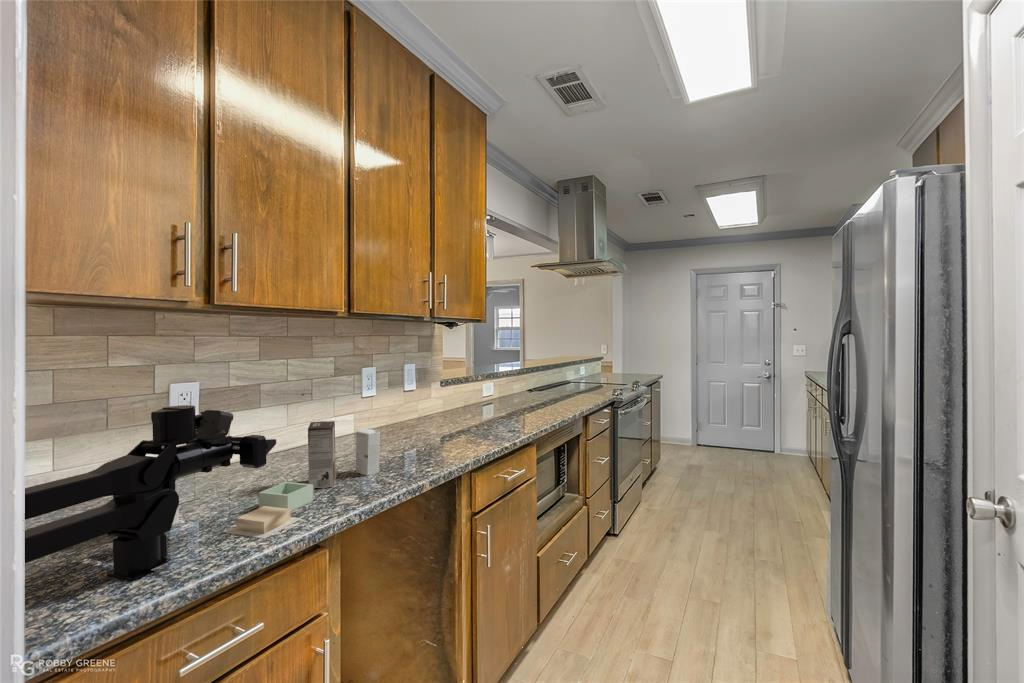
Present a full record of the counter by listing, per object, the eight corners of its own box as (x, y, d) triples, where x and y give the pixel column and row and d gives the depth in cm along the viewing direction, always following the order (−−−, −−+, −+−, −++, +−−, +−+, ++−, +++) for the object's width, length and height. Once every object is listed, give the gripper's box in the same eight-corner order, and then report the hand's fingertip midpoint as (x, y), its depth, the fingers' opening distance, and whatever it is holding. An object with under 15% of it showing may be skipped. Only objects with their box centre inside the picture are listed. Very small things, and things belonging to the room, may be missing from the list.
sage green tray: (287, 516, 102) (287, 495, 102) (259, 512, 104) (258, 492, 104) (313, 503, 109) (313, 484, 109) (286, 500, 112) (285, 481, 112)
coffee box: (311, 479, 128) (310, 421, 127) (336, 477, 130) (335, 420, 129) (307, 490, 119) (306, 428, 119) (334, 487, 121) (333, 426, 121)
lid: (264, 534, 91) (263, 522, 91) (236, 530, 93) (236, 518, 93) (290, 520, 98) (290, 509, 98) (264, 516, 100) (264, 505, 100)
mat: (264, 541, 89) (264, 538, 89) (224, 535, 92) (224, 532, 92) (301, 521, 99) (301, 518, 99) (264, 516, 102) (264, 513, 102)
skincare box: (355, 472, 134) (354, 431, 134) (368, 468, 138) (367, 428, 137) (367, 476, 130) (367, 433, 130) (381, 472, 134) (380, 430, 134)
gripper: (229, 418, 85) (292, 405, 100) (156, 414, 91) (226, 403, 106) (230, 478, 85) (293, 456, 100) (157, 470, 91) (227, 451, 106)
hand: (259, 440), depth 103 cm, fingers open, 9 cm apart
